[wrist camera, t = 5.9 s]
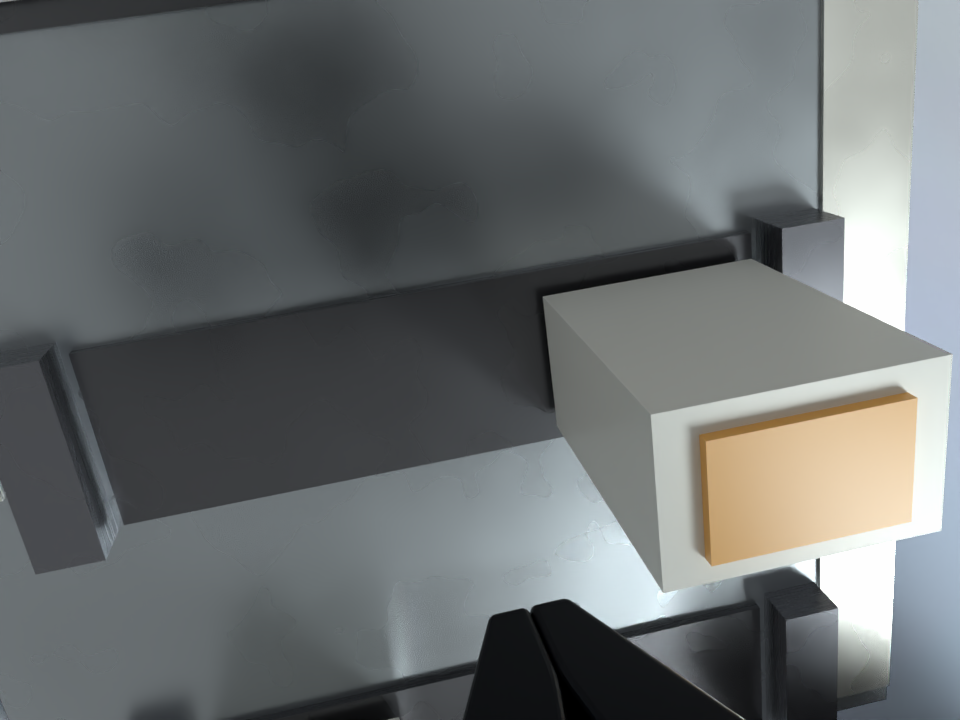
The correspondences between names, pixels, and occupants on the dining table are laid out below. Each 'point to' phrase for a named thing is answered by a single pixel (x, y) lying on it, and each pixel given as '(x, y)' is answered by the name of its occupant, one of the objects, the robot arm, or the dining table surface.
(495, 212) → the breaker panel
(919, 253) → the dining table surface
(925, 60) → the dining table surface
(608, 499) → the breaker
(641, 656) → the robot arm
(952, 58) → the dining table surface
